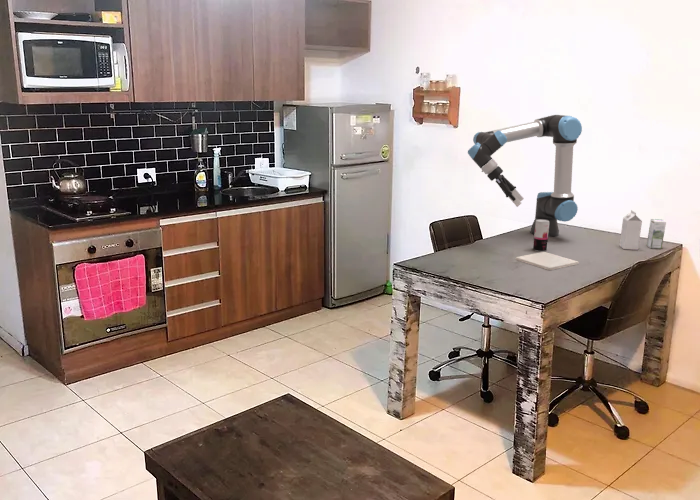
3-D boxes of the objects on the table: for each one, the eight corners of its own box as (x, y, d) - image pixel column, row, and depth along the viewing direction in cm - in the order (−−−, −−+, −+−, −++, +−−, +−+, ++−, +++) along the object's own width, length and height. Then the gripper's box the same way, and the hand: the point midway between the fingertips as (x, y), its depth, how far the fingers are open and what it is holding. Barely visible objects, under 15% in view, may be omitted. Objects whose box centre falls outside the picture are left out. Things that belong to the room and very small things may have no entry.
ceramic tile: (515, 259, 303) (515, 257, 303) (543, 254, 314) (544, 251, 314) (549, 270, 287) (549, 267, 287) (578, 264, 298) (578, 261, 298)
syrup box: (657, 246, 334) (662, 218, 330) (662, 249, 328) (666, 221, 324) (646, 245, 334) (650, 218, 330) (650, 248, 329) (654, 220, 325)
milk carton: (633, 246, 332) (638, 210, 327) (638, 250, 325) (643, 213, 320) (619, 245, 333) (624, 209, 328) (623, 249, 326) (628, 212, 321)
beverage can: (547, 252, 317) (550, 222, 313) (533, 251, 319) (536, 221, 315) (545, 249, 324) (548, 219, 320) (532, 248, 325) (535, 219, 321)
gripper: (489, 172, 332) (516, 203, 332) (483, 178, 310) (512, 212, 309) (501, 162, 329) (528, 193, 329) (495, 168, 307) (524, 202, 306)
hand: (520, 202), depth 319 cm, fingers open, 13 cm apart
